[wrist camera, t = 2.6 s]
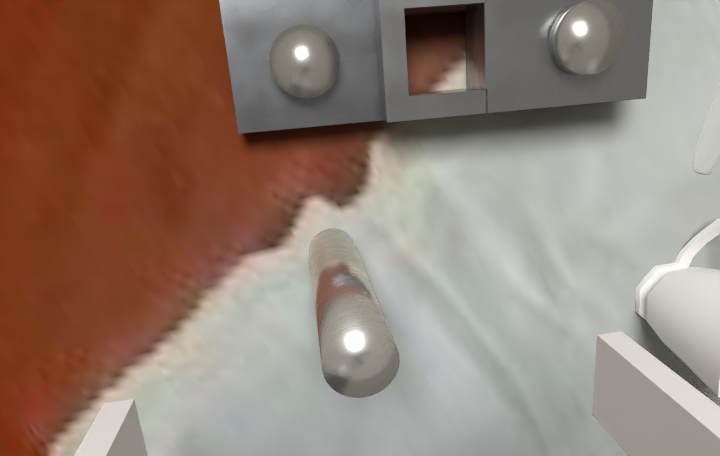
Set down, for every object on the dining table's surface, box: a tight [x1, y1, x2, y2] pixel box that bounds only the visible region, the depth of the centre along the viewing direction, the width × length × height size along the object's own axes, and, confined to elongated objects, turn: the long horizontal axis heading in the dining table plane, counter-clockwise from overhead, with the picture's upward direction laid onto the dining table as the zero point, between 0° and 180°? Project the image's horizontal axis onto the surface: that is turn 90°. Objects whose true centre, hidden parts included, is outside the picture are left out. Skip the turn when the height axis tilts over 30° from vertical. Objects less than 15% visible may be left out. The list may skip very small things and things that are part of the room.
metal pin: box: [309, 229, 399, 398], centre depth 23 cm, size 3×3×12 cm
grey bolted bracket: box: [219, 0, 653, 134], centre depth 25 cm, size 20×6×4 cm, turn 95°
